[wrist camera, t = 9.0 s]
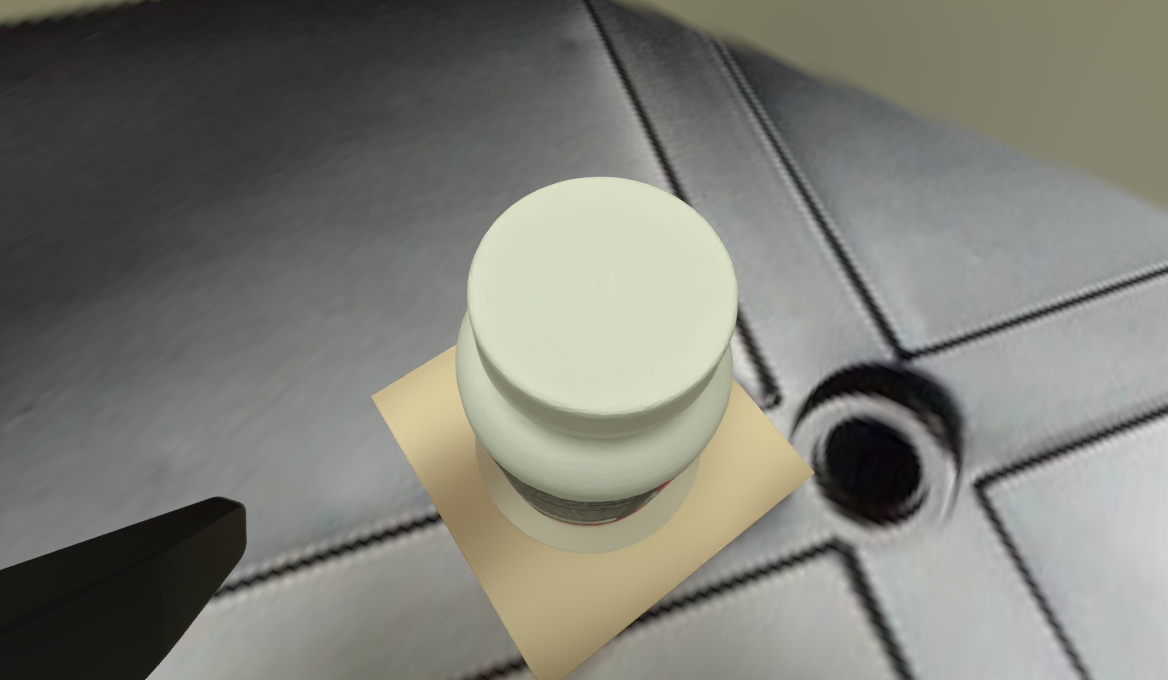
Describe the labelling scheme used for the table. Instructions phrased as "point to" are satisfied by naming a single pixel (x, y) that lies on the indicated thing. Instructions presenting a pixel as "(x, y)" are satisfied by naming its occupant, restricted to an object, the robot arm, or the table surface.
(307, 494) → the table surface
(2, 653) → the robot arm
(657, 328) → the pill bottle
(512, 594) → the pedestal
